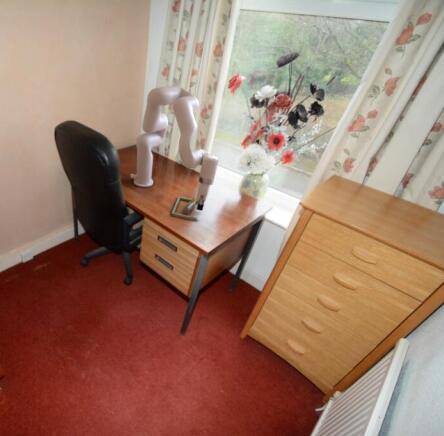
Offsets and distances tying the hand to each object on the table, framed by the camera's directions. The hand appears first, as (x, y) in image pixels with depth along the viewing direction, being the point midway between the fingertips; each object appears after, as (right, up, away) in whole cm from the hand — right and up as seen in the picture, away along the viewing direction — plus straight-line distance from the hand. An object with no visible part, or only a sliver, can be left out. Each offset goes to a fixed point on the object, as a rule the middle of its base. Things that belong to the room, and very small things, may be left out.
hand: (199, 209), depth 149 cm
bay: (-6, 0, +2) cm, 7 cm away
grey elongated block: (-5, 0, +3) cm, 6 cm away
